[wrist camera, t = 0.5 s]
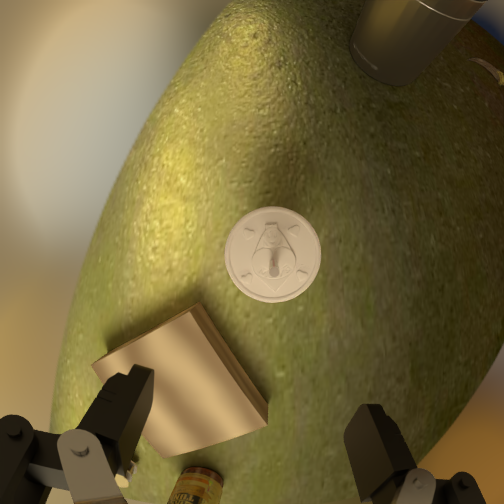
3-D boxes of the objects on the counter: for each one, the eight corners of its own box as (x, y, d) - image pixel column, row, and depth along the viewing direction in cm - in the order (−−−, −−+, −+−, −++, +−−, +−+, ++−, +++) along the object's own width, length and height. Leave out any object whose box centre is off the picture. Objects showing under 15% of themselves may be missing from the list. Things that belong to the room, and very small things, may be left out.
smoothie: (241, 282, 29) (215, 325, 15) (237, 217, 28) (205, 201, 14) (306, 278, 28) (338, 318, 14) (302, 213, 28) (332, 192, 14)
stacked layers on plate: (113, 472, 32) (99, 491, 27) (82, 431, 32) (64, 449, 27) (160, 470, 32) (148, 494, 26) (127, 426, 31) (110, 448, 26)
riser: (200, 301, 29) (189, 311, 25) (268, 405, 29) (267, 425, 25) (107, 352, 30) (90, 364, 26) (172, 439, 31) (163, 458, 27)
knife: (468, 59, 25) (475, 44, 24) (465, 61, 26) (472, 46, 25) (529, 130, 24) (534, 111, 24) (525, 131, 25) (530, 113, 25)
